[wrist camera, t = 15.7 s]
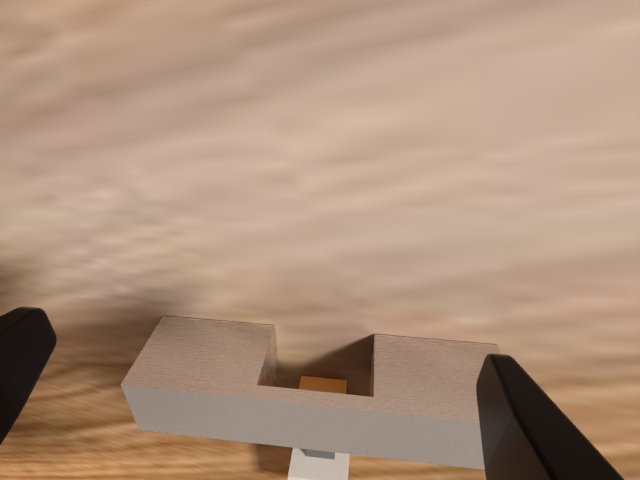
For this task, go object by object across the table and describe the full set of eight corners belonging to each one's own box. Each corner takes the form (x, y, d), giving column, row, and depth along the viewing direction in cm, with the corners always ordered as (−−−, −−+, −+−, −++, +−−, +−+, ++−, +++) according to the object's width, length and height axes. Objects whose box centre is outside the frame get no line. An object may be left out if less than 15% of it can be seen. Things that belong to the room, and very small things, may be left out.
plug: (293, 374, 27) (283, 423, 24) (354, 380, 27) (351, 431, 24) (298, 457, 33) (290, 505, 30) (348, 463, 32) (345, 512, 30)
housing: (163, 315, 26) (120, 384, 21) (497, 344, 24) (523, 427, 19) (175, 359, 28) (139, 429, 24) (482, 389, 26) (503, 471, 22)
